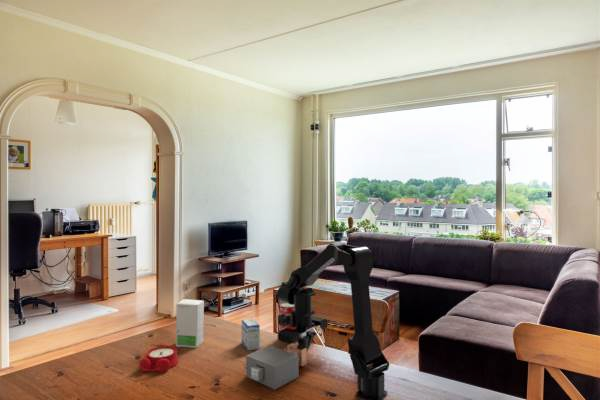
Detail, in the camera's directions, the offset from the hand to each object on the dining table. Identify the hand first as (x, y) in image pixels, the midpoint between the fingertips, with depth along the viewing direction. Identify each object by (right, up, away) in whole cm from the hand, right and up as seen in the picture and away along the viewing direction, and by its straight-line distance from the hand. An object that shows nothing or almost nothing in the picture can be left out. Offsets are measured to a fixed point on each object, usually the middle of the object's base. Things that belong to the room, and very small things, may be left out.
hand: (304, 355), depth 132 cm
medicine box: (-19, -2, +13) cm, 23 cm away
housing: (-10, -2, -11) cm, 15 cm away
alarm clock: (-46, -3, -3) cm, 46 cm away
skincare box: (-41, -2, +15) cm, 44 cm away
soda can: (-5, -2, +20) cm, 21 cm away
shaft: (-8, -2, -9) cm, 12 cm away
